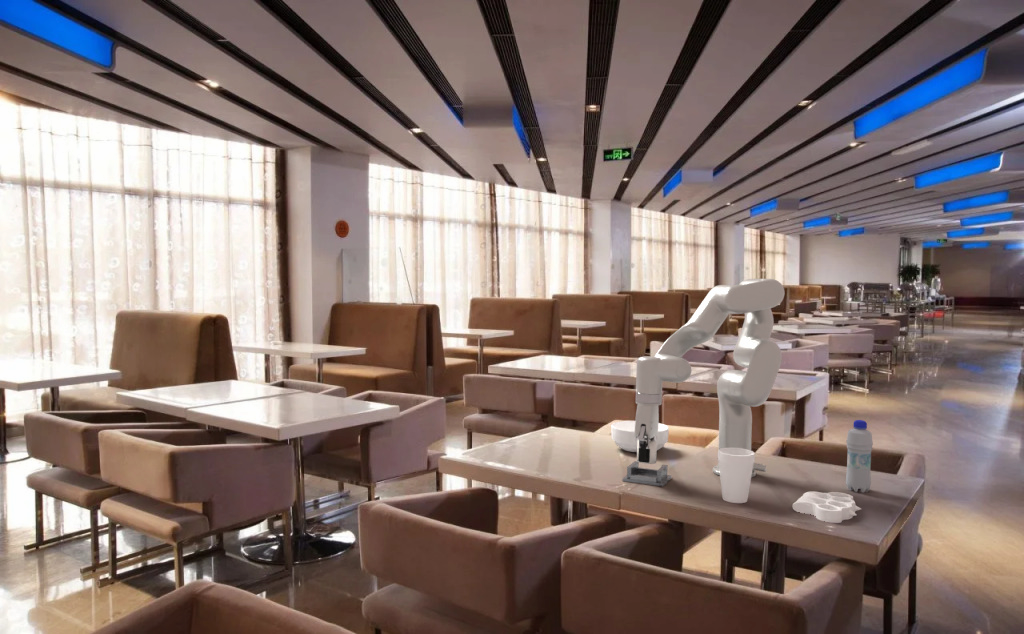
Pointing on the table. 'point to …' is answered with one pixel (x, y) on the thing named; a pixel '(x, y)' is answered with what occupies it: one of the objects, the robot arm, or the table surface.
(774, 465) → the table surface
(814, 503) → the white compartment tray
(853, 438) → the bottle
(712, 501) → the table surface
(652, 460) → the paper roll
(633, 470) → the roll cradle
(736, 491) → the foam cup
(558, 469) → the table surface
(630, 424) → the bowl
